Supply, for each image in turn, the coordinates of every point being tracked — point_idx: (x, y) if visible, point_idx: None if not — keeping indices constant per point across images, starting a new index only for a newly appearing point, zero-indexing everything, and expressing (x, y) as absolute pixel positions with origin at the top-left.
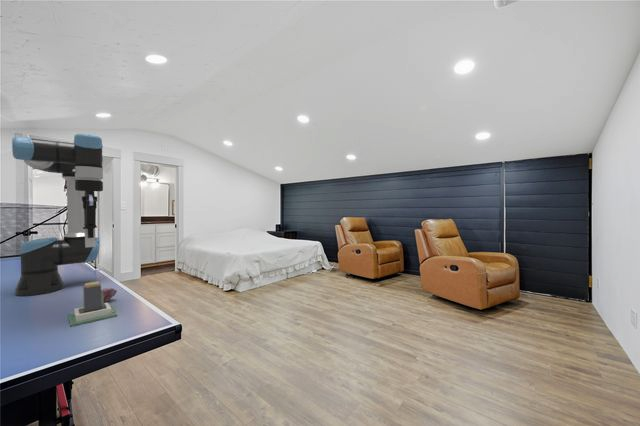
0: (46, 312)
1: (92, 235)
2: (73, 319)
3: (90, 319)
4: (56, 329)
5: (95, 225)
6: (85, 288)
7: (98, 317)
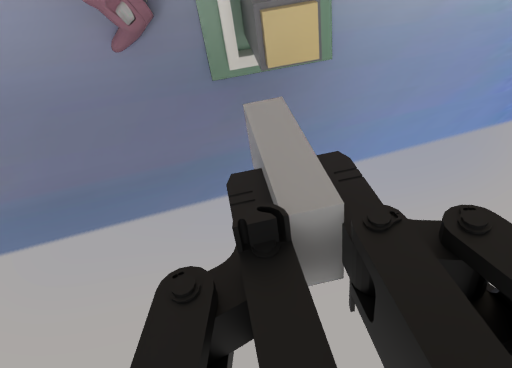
0: (132, 145)
1: (355, 170)
2: None
3: (320, 6)
4: (325, 88)
5: (498, 217)
6: (321, 54)
7: None
